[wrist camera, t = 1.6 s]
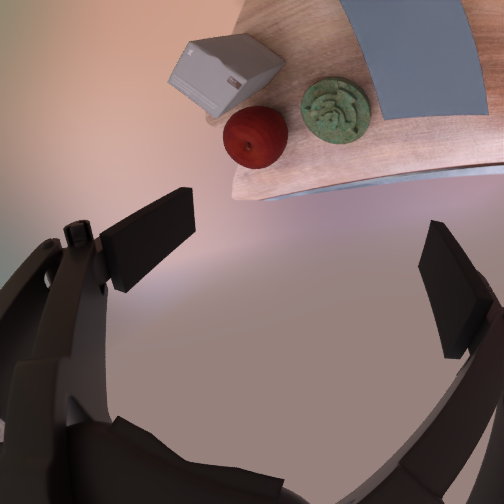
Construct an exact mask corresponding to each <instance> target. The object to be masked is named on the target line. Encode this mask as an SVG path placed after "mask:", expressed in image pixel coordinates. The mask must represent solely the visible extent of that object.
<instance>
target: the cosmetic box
mask: <svg viewBox="0 0 504 504" xmlns="http://www.w3.org/2000/svg"><path fill="white" fill-rule="evenodd" d="M285 64H286V62H285V61H284V60H283V59H281V58H280V57H279V56H277V55H276V54H275V53H273V52H272V51H271V50H269V49H268V48H267V47H265V46H264V45H262V44H261V43H260V42H258V41H257V40H255V39H254V38H252V37H251V36H249V35H248V34H237V35H229V36H222V37H214V38H207V39H202V40H196V41H189V43H188V44H187V46H186V48H185V50H184V51H183V53H182V55H181V57H180V59H179V61H178V62H177V64H176V66H175V68H174V70H173V72H172V74H171V76H170V78H169V80H168V83H169V84H171V85H172V86H174V87H175V88H176V89H178V90H179V91H180V92H181V93H183V94H184V95H186V96H187V97H188V98H189V99H191V100H192V101H193V102H195V103H196V104H197V105H199V106H200V107H201V108H203V109H204V110H205V111H207V112H208V113H209V114H210V115H212V116H213V117H214V118H215V119H217V118H219V117H220V116H222V115H223V114H225V113H226V112H228V111H229V110H231V109H232V108H234V107H235V106H237V105H238V104H240V103H241V102H243V101H244V100H246V99H247V98H249V97H250V96H252V95H253V94H255V93H257V92H258V91H260V90H261V89H263V88H264V87H265V86H266V85H267V84H268V83H269V82H270V80H271V79H272V78H273V77H274V76H275V75H276V73H277V72H278V71H279V70H280V69H281V68H282V67H283V66H284V65H285Z"/></svg>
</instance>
